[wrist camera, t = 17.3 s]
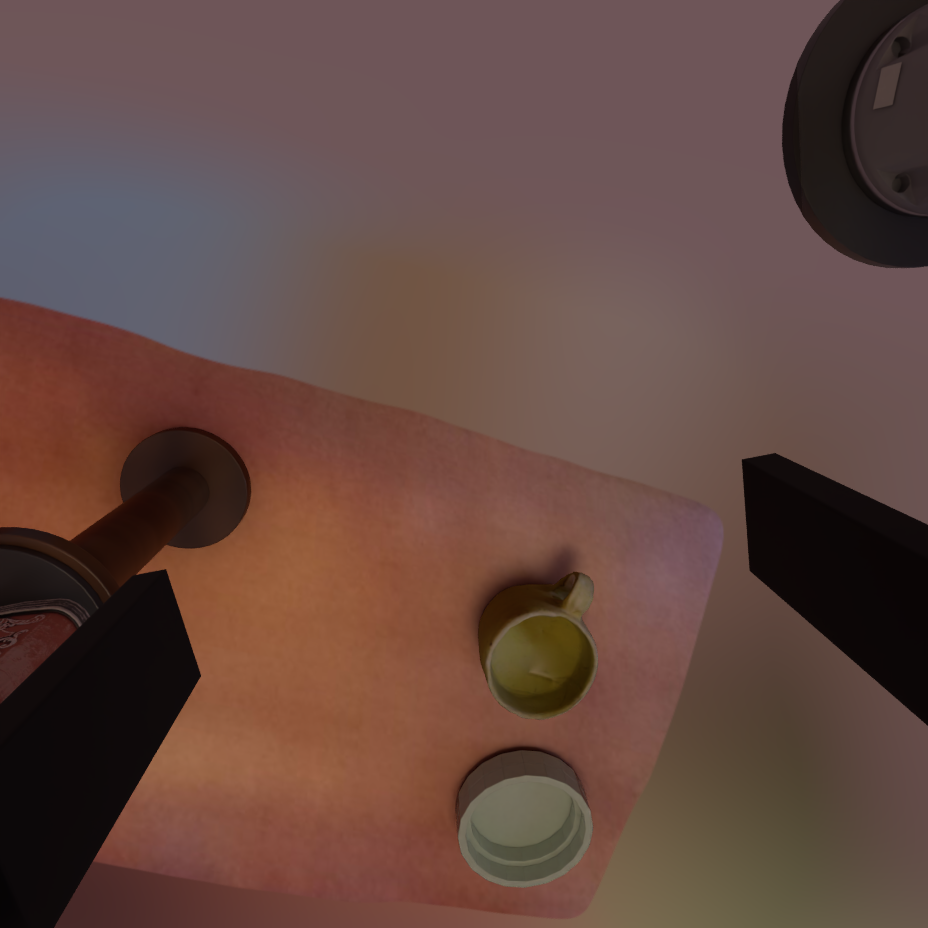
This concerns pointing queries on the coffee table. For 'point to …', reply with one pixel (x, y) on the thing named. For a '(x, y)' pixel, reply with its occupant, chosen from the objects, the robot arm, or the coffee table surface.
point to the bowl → (523, 819)
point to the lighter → (33, 636)
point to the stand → (133, 522)
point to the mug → (539, 647)
